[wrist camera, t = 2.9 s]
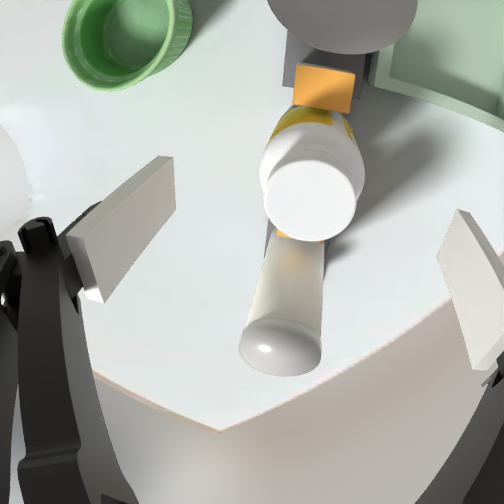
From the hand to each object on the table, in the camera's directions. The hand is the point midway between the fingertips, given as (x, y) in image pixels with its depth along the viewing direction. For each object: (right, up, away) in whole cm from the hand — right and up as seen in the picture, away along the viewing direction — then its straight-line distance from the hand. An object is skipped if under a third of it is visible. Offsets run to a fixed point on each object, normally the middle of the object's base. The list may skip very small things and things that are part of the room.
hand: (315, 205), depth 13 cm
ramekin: (-10, +14, +4) cm, 18 cm away
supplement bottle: (+2, +6, +7) cm, 10 cm away
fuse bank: (+2, +6, +7) cm, 9 cm away
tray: (+10, +12, 0) cm, 16 cm away
